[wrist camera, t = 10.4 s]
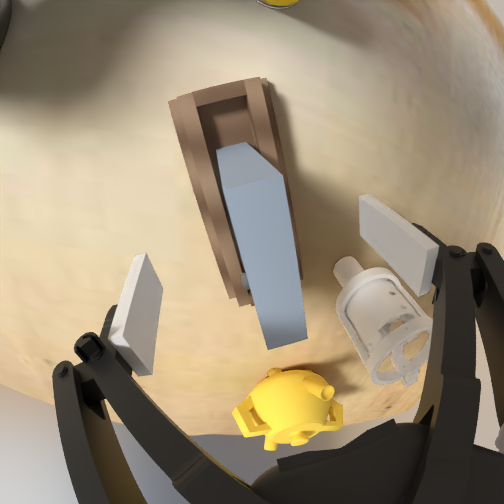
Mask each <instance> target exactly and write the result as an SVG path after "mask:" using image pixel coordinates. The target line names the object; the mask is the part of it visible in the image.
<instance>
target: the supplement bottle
mask: <svg viewBox="0 0 504 504" xmlns="http://www.w3.org/2000/svg"><path fill="white" fill-rule="evenodd" d="M256 1H257V2H259V3H261V4H262V5H264V6H267V7H270V8H276V9H283V8H288V7H291V6H293V5H295V4H296V3H298V2H299V1H300V0H256Z"/></svg>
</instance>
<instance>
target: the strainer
mask: <svg viewBox="0 0 504 504" xmlns="http://www.w3.org/2000/svg"><path fill="white" fill-rule="evenodd" d="M333 273H334V276H335V277H336V279H337V280H338V281H339V283H340V284H341V286H342V287H343V289H342V290H341V292H340V293H339V295H338V298H337V301H336V306H335V310H336V314H337V316H338V318H339V320H340V321H341V323H342V325H343V327H344V329H345V331H346V332H347V334H348V336H349V338H350V340H351V342H352V343H353V345H354V347H355V349H356V351H357V353H358V355H359V356H360V358H361V360H362V362H363V364H364V366H365V368H366V370H367V372H368V374H369V375H370V377H371V379H372V381H373V382H374V383H375V384H379V385H384V384H390V383H393V382H396V381H398V380H400V379H401V380H402V381H403V383H404V385H405V387H408V386H410V385H412V384H413V383H415V382H416V381H417V379H418V374H419V373H420V370H419V369H420V366H421V365H423V364H424V363H425V362H426V361H427V360H428V358H429V351H430V344H431V335H432V325H433V319H432V318H431V317H428V316H427V314H426V313H425V312H424V311H423V310H422V309H421V307H420V306H419V305H418V304H417V303H416V301H415V300H414V299H413V298H412V297H411V296H410V295H409V293H408V292H407V291H406V290H405V289H404V288H403V287H402V285H401V284H400V281H399V280H398V278H397V277H396V276H395V275H394V274H393V273H392V272H391V271H390V270H388V269H386V268H382V267H375V268H370V269H367V270H364V269H363V268H362V267H361V266H360V264H359V263H358V262H357V261H356V259H355V258H353V257H350V256H347V257H343V258H341V259H340V260H339V261H338V262H337V263H336V264H335V266H334V269H333ZM388 279H390V280H391V281H389V280H388ZM399 319H401V320H402V322H403V323H404V324H402V325H400V326H399V327H397V328H396V329H395V330H393V331H392V332H391V331H390V329H391V325H392V323H394V322H396V323H397V322H398V321H399ZM354 331H355V332H356V333H355V332H354ZM422 331H427V332H428V333H429V335H430V336H429V339H428V340H427V342H426V344H425V345H424V347H423V348H422V349H421V350H420V351H419V352H418V353H417V354H416V355H415V356H414V357H413V358H412V359H411V360H409V361H408V360H407V359H406V357H405V356H404V354H403V348H404V344H406V343H407V344H408V343H410V342H411V341H412V340H413V339H414V338H417V337H418V335H419V333H420V332H422ZM356 334H357V335H358V337H359V339H360V340H361V342H362V344H363V346H364V348H365V349H366V351H367V352H369V353H370V356H368V355H367V353H366V351H365V349H364V348H363V346H362V344H361V342H360V340H359V339H358V337H357V335H356ZM390 352H391V356H390V361H391V363H392V364H393V366H394V368H395V369H393V370H391V371H387V372H377V370H378V368H379V366H380V364H381V363H382V361H383V360H384V359H385V358H386V357H387V356H388V354H389V353H390Z"/></svg>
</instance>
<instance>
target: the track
mask: <svg viewBox="0 0 504 504" xmlns="http://www.w3.org/2000/svg"><path fill="white" fill-rule="evenodd" d="M168 103H169V107H170V111H171V114H172V118H173V121H174V125H175V129H176V132H177V136H178V139H179V143H180V146H181V150H182V153H183V157H184V160H185V163H186V167H187V170H188V173H189V177H190V180H191V183H192V187H193V190H194V193H195V196H196V200H197V203H198V206H199V209H200V212H201V215H202V219H203V222H204V225H205V228H206V231H207V234H208V237H209V240H210V243H211V246H212V249H213V252H214V255H215V258H216V261H217V264H218V267H219V270H220V273H221V276H222V279H223V282H224V285H225V288H226V290H227V293H228V296H229V299H232V298H237V301H238V304H239V307H240V306H244V305H248V304H251V306H255V304H254V300H253V297H252V293H251V290H250V289H248V290H244V288H243V285H242V281H241V277H240V274H241V273H245V268H244V265H243V261H242V258H241V254H240V251H239V247H238V243H237V240H236V236H235V233H234V229H233V225H232V222H231V218H230V215H229V211H228V207H227V204H226V200H225V196H224V193H223V188H222V182H221V177H220V171H219V165H218V159H217V153H216V149H219V148H223V147H227V146H231V145H235V144H239V143H243V142H247V143H248V144H249V145H250V146H251V147H252V148H253V149H255V150H256V151H257V152H258V153H259V154H260V155H261V156H262V157H263V158H265V159H266V160H267V161H268V162H269V163H270V164H271V165H272V166H273V167H274V168H276V169H277V170H278V171H279V172H280V173H281V174H282V175H283V179H284V185H285V190H286V196H287V201H288V207H289V213H290V218H291V224H292V230H293V237H294V243H295V249H296V256H297V262H298V269H299V276H300V280H302V279H303V275H302V267H301V260H300V253H299V247H298V240H297V233H296V227H295V221H294V215H293V209H292V203H291V197H290V191H289V186H288V180H287V174H286V169H285V164H284V158H283V153H282V148H281V143H280V138H279V133H278V128H277V124H276V119H275V114H274V109H273V105H272V100H271V96H270V91H269V87H268V83H267V79H266V78H262V79H260V77H256V78H251V79H245V80H240V81H235V82H231V83H226V84H222V85H218V86H214V87H210V88H206V89H202V90H198V91H194V92H192V93H189V94H186V95H182V96H179V97H177V99H175V100H171V101H168Z"/></svg>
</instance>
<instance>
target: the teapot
mask: <svg viewBox="0 0 504 504" xmlns="http://www.w3.org/2000/svg"><path fill="white" fill-rule="evenodd" d="M267 374H268V376H269V377H267V378H265V379H264V380H262V381H261V382H260V383H258V384H257V385H256V386H255V388H254V389H253V390H252V391H251V393H250V394H249V396H248V398H246V399H245V400H244V401H243V402H241V403H240V404H239V405H238V406H237V407H236V408H235V409H234V410H233V411H232V414H233V416H234V418H235V420H236V422H237V424H238V426H239V428H240V430H241V432H242V433H243V435H244V437H251V436H257V435H263V434H264V435H265V436H266V438H265V445H264V449H265V450H270V451H274V450H276V449H277V444H278V443H282V444H285V443H291V445H292V446H299V445H303V444H305V443H307V442H308V441H309V438H310V437H312V436H314V435H316V434H317V433H319V432H320V431H338V430H340V429H341V428H342V427H343V408H342V405H341V404H340V403H338V402H336V401H334V400H332V399H331V398H332V397H333V396H334V393H335V389H334V387H333V386H331V385H329V384H328V383H327V381H326V380H325V379H324V378H323V377H322V376H320V375H318V374H315V373H313V371H312V370H310V369H307V370H290V371H284V372H282V369H280V368H273V369H270V370H269V371H268V372H267ZM328 413H329V415H330V421H328V420H326V419H327V416H328Z"/></svg>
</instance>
